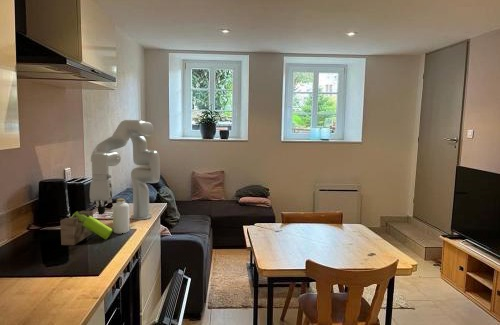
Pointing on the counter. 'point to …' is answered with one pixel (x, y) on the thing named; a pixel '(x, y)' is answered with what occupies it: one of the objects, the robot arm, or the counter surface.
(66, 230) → the bottle rest
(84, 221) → the soap dispenser
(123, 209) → the potion bottle
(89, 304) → the counter surface
